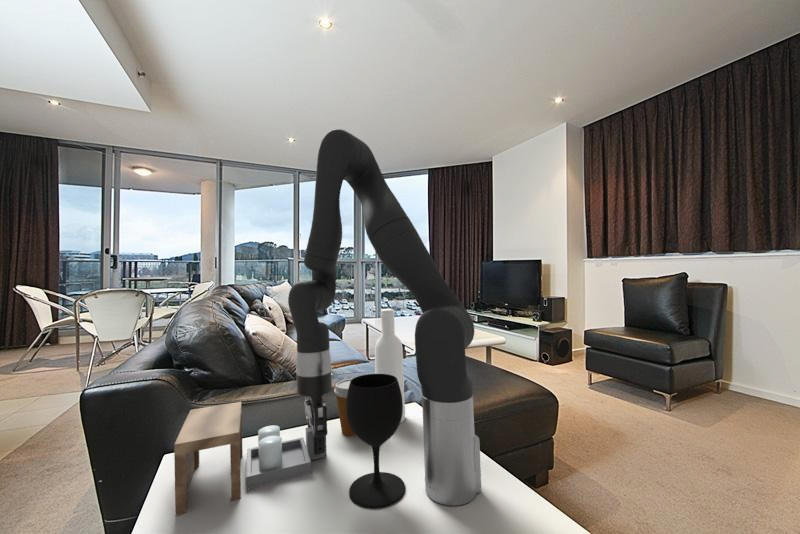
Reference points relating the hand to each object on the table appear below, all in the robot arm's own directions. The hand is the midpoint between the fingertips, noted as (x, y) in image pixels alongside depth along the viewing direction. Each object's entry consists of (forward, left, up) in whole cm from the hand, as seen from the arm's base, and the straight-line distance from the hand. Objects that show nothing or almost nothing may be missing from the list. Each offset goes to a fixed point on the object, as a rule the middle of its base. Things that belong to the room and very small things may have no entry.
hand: (316, 445), depth 76 cm
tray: (+6, 0, -3) cm, 7 cm away
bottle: (-22, -10, -3) cm, 25 cm away
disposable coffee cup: (-11, -8, -3) cm, 14 cm away
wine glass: (-8, +18, -3) cm, 19 cm away
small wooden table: (+20, 0, -2) cm, 20 cm away
